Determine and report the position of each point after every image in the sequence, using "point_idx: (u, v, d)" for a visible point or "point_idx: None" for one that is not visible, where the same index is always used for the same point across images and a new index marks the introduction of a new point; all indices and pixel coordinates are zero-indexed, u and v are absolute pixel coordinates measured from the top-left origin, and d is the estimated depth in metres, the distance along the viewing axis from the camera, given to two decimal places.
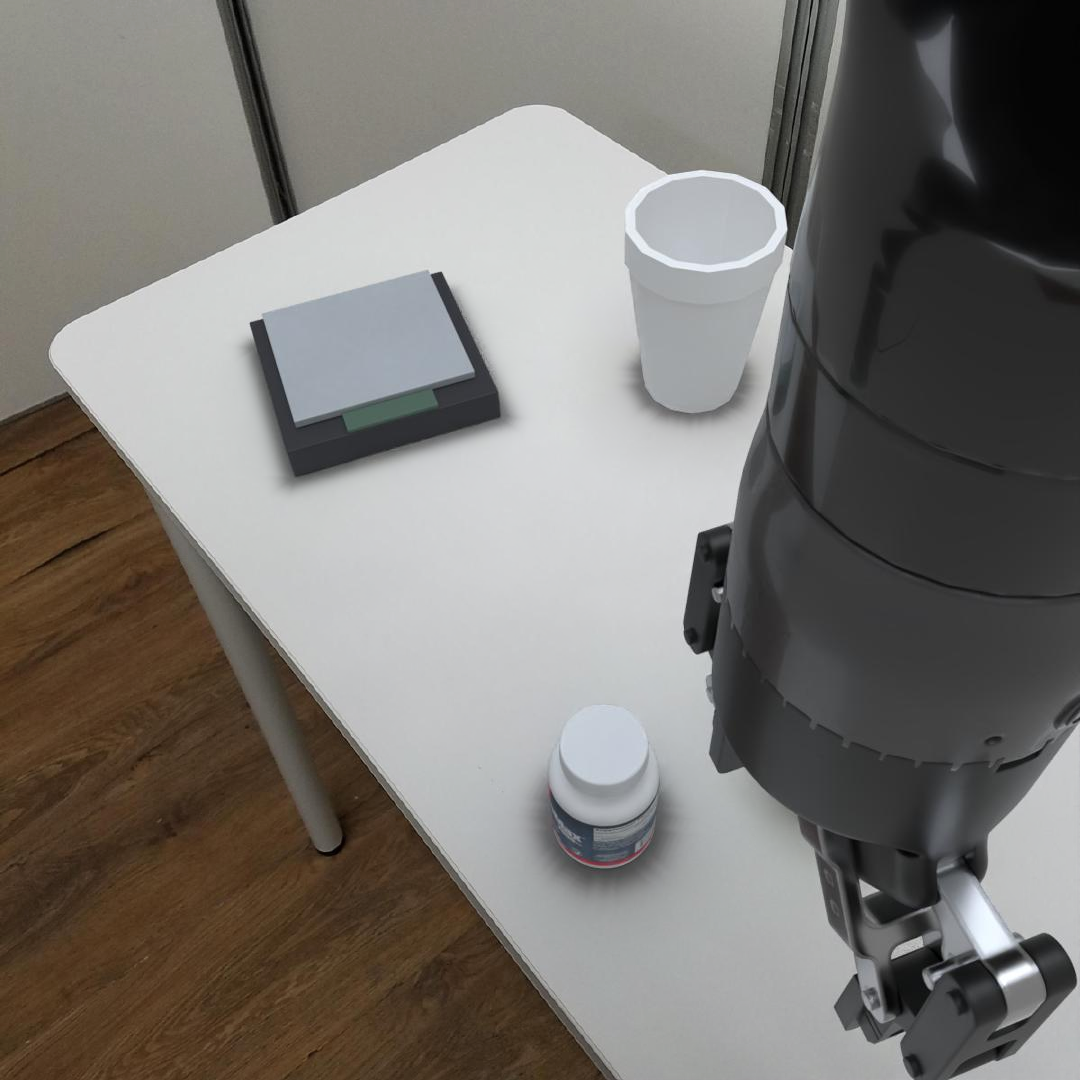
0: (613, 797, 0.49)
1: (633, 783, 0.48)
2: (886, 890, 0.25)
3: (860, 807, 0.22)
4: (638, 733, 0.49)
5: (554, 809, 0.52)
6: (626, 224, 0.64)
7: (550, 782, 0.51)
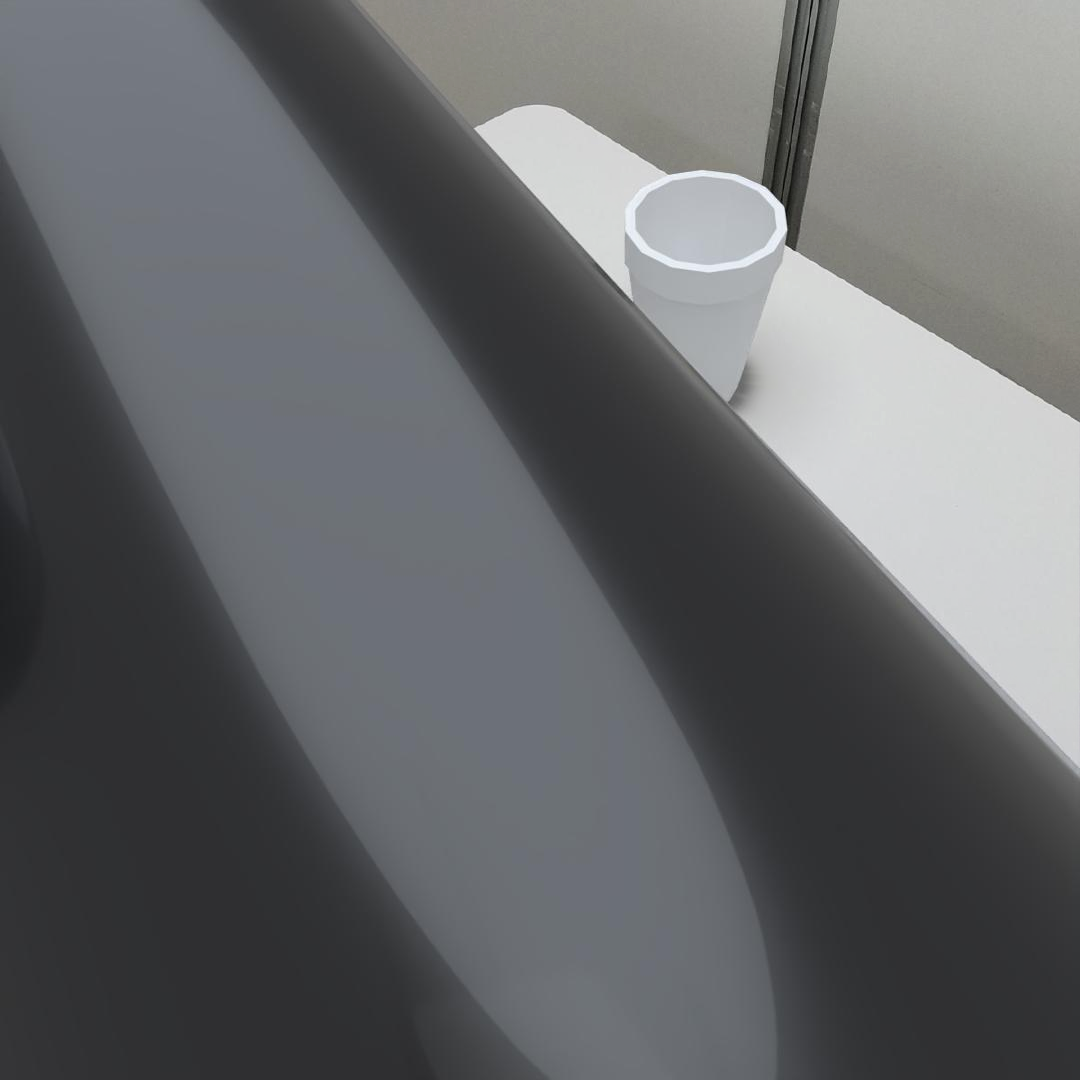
0: None
1: None
2: None
3: None
4: None
5: None
6: (626, 224, 0.64)
7: None
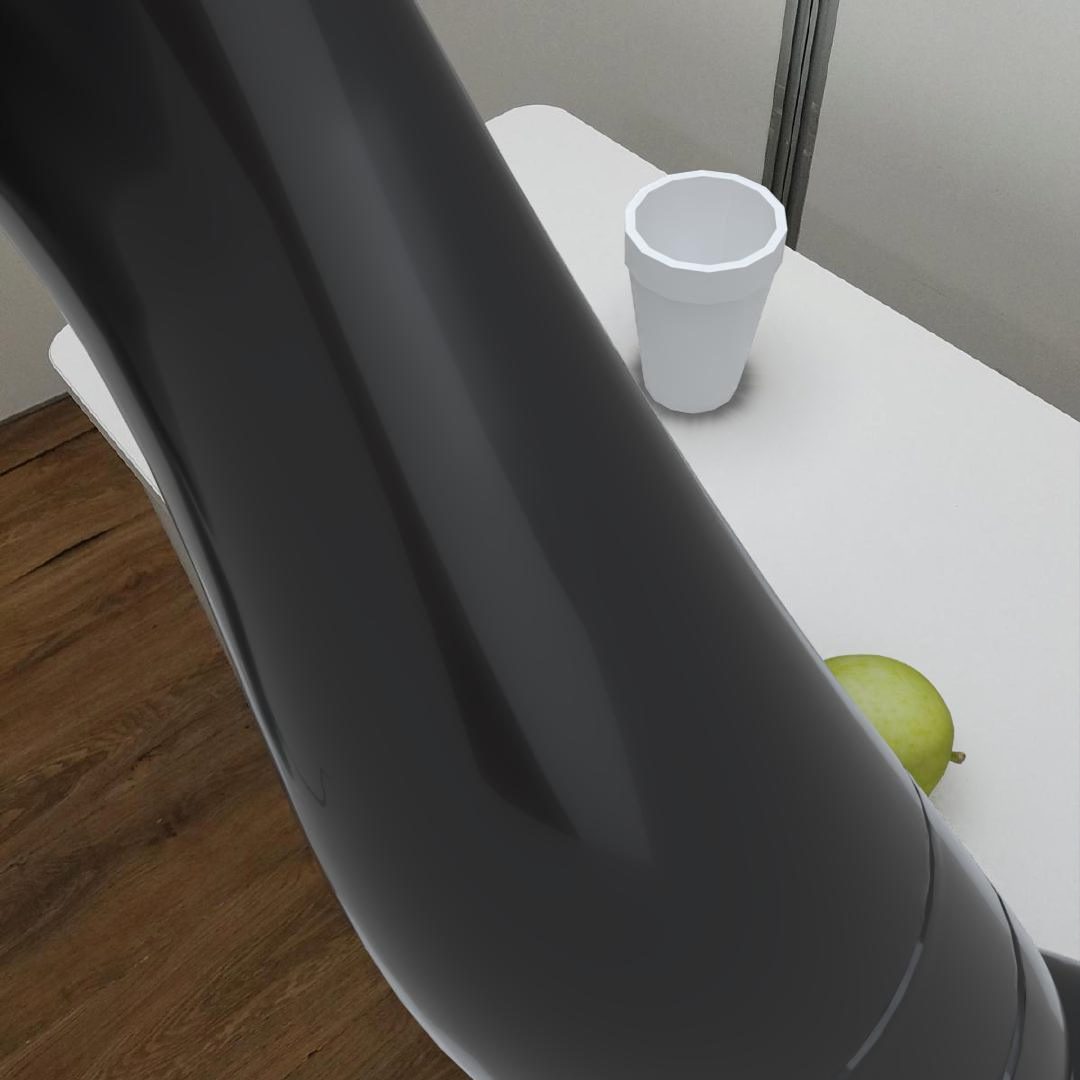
0: None
1: None
2: None
3: None
4: None
5: None
6: (626, 224, 0.64)
7: None
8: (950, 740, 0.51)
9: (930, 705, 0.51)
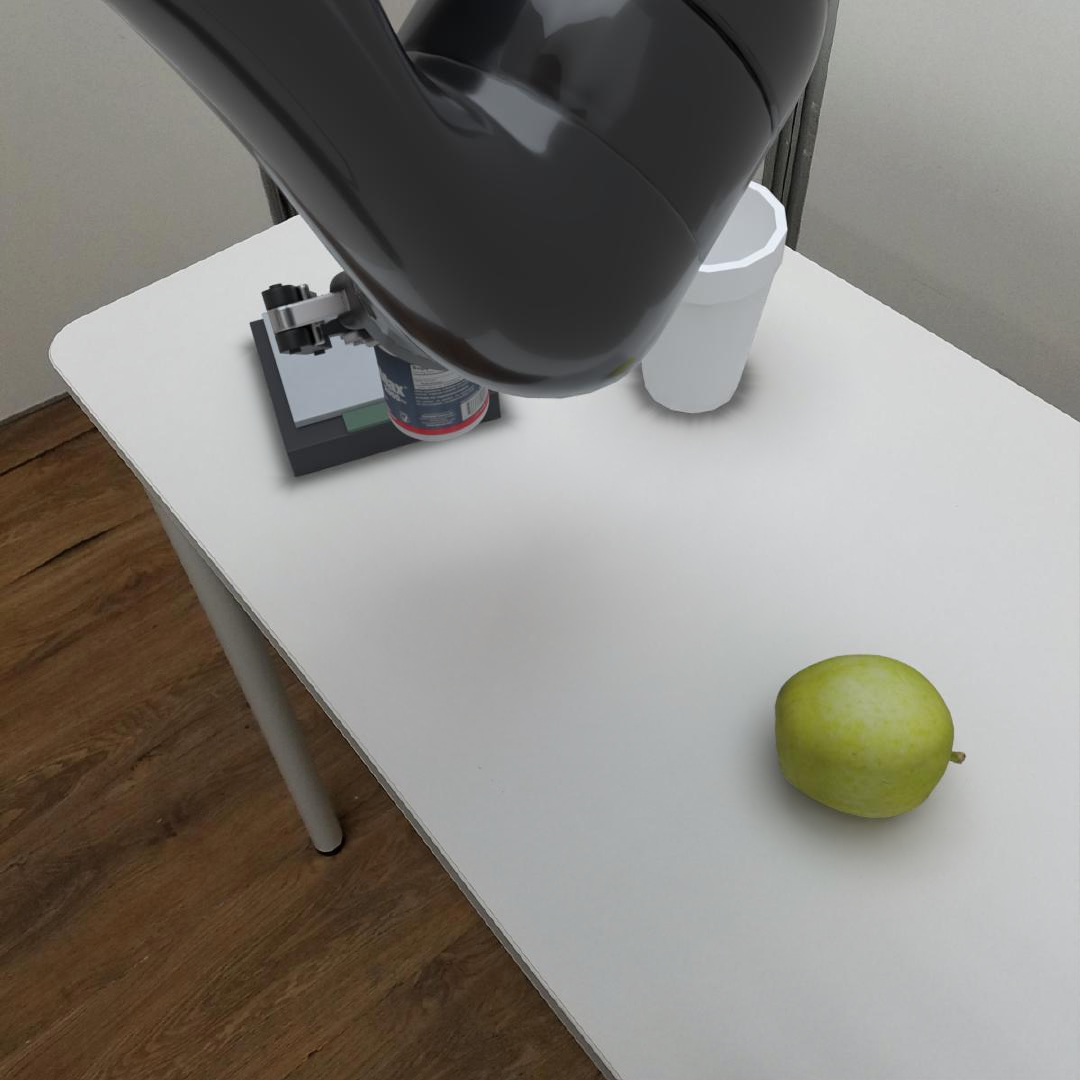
0: None
1: None
2: None
3: None
4: None
5: (378, 363, 0.52)
6: None
7: None
8: (950, 740, 0.51)
9: (930, 705, 0.51)
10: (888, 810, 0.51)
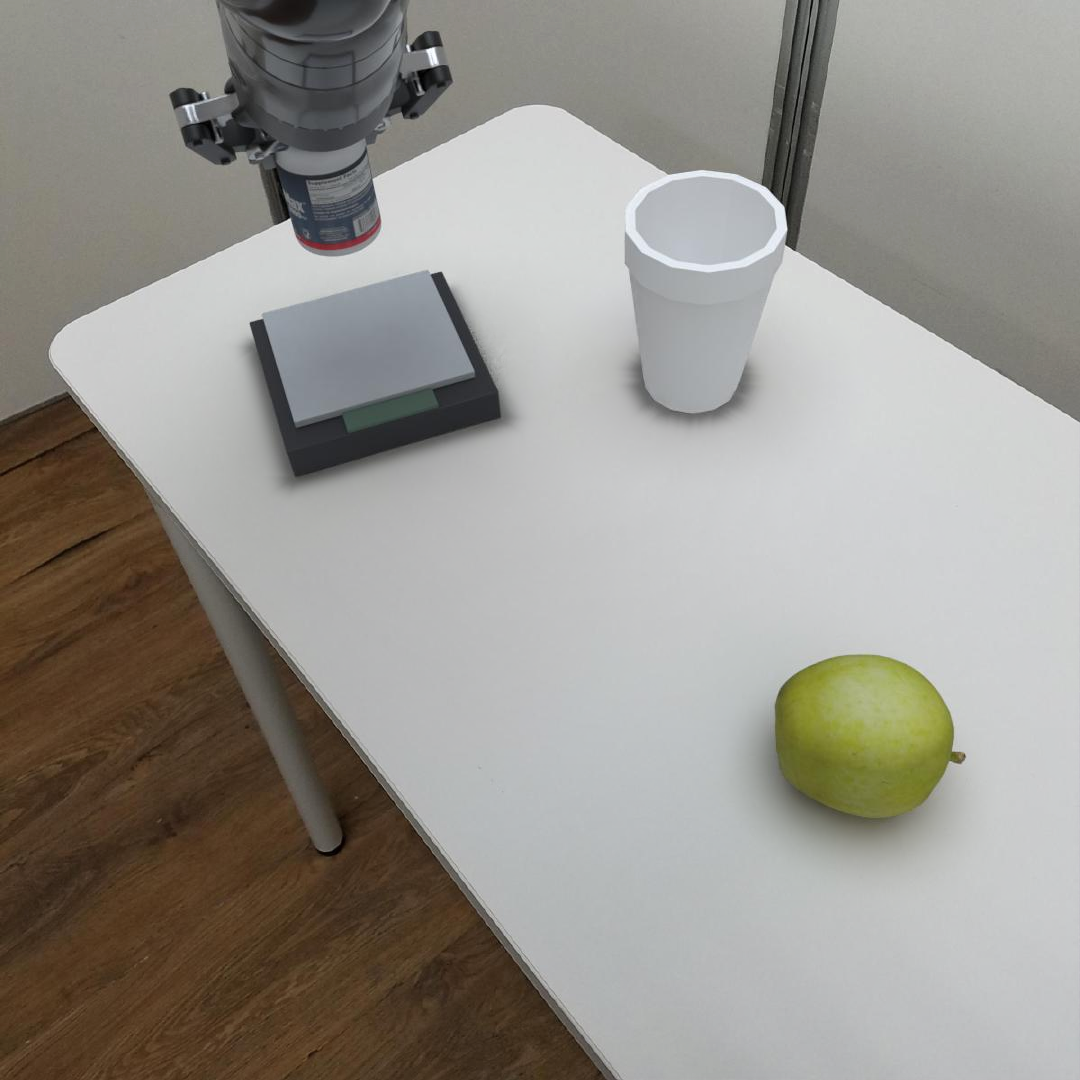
0: None
1: None
2: None
3: None
4: None
5: (282, 185, 0.63)
6: (626, 224, 0.64)
7: None
8: (950, 740, 0.51)
9: (930, 705, 0.51)
10: (888, 810, 0.51)
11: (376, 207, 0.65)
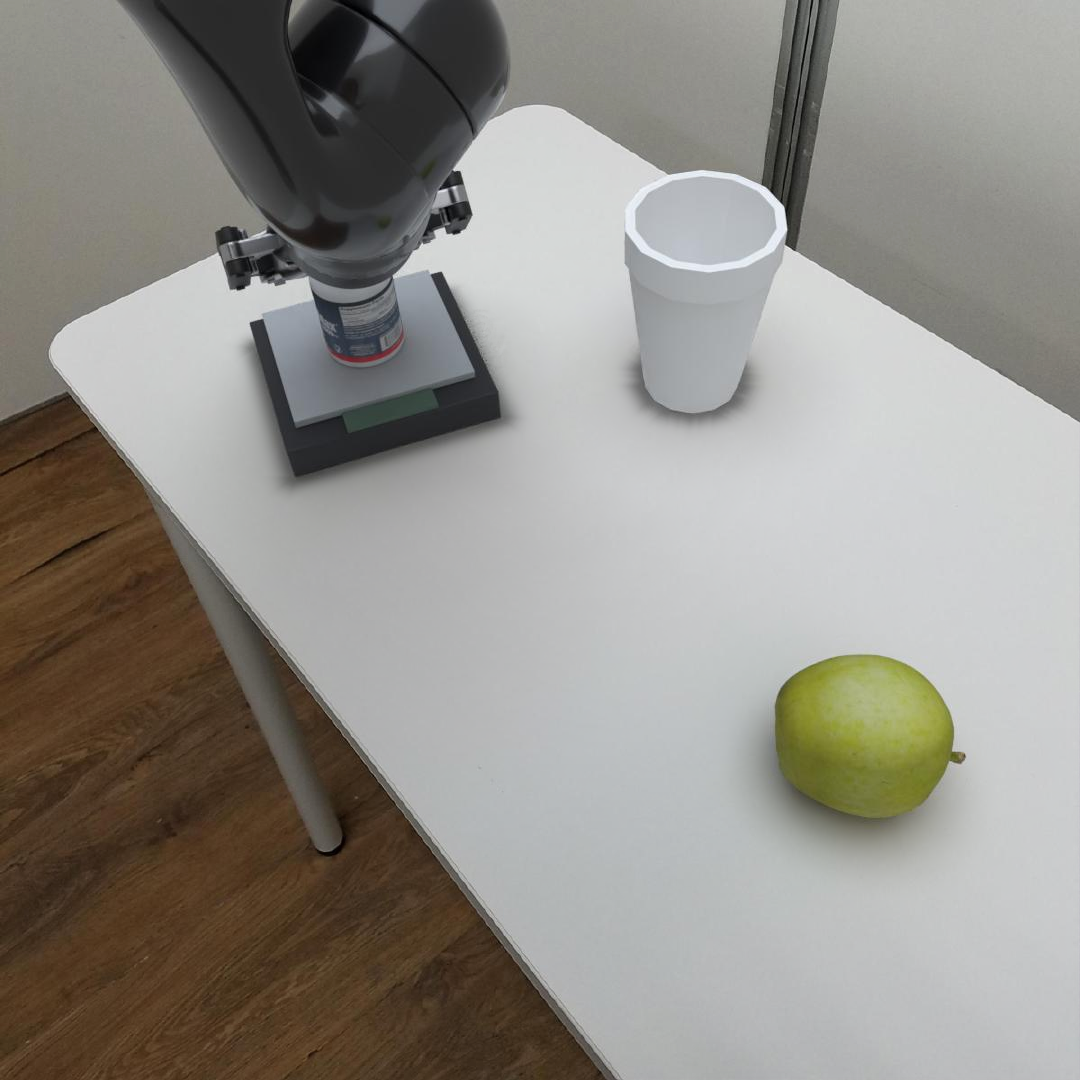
0: None
1: None
2: None
3: None
4: None
5: (316, 307, 0.70)
6: (626, 224, 0.64)
7: (308, 277, 0.68)
8: (950, 740, 0.51)
9: (930, 705, 0.51)
10: (888, 810, 0.51)
11: (400, 323, 0.72)
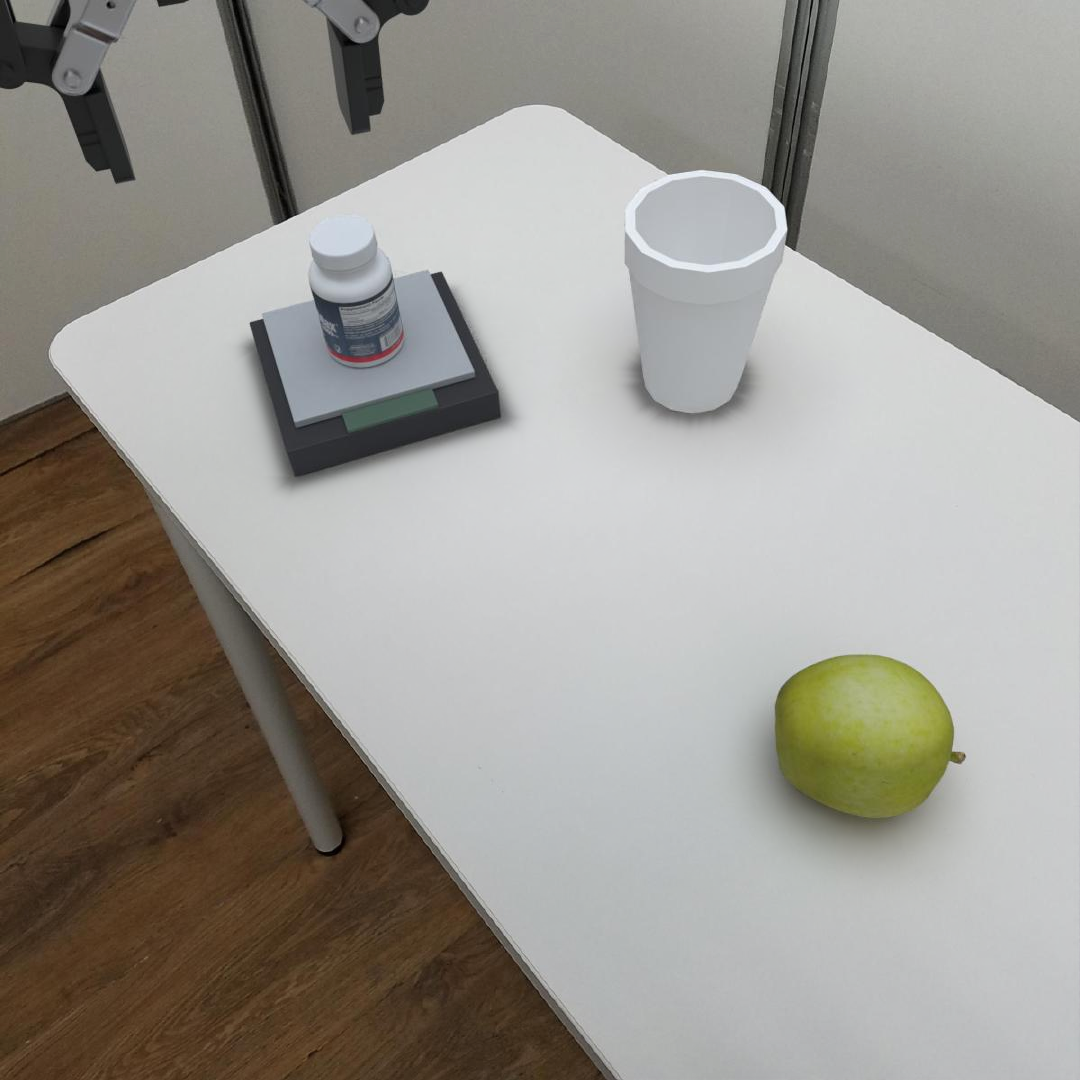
0: (350, 278, 0.67)
1: (361, 261, 0.66)
2: None
3: None
4: (367, 228, 0.67)
5: (316, 307, 0.70)
6: (626, 224, 0.64)
7: (308, 277, 0.68)
8: (950, 740, 0.51)
9: (930, 705, 0.51)
10: (888, 810, 0.51)
11: (400, 323, 0.72)
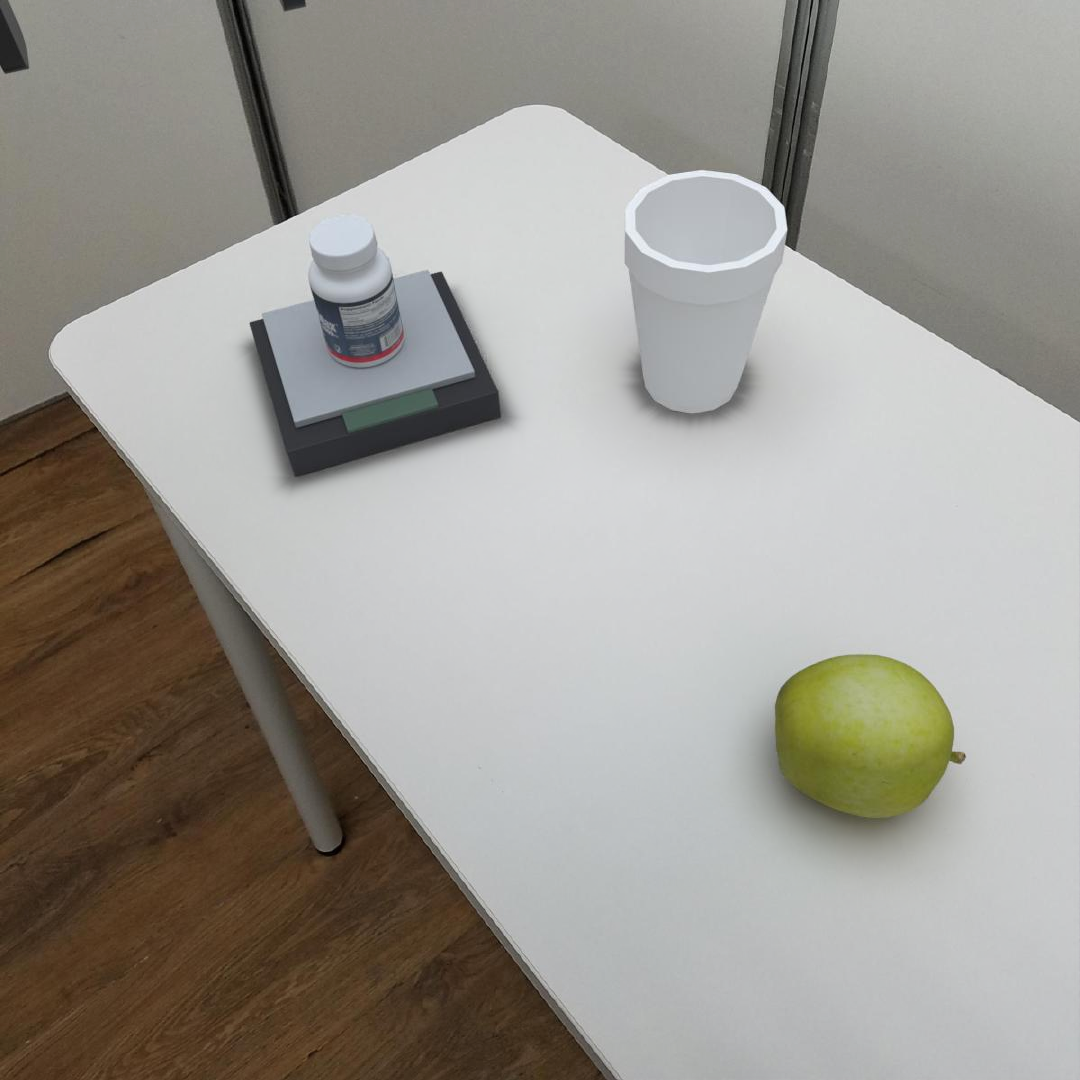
0: (350, 278, 0.67)
1: (361, 261, 0.66)
2: None
3: None
4: (367, 228, 0.67)
5: (316, 307, 0.70)
6: (626, 224, 0.64)
7: (308, 277, 0.68)
8: (950, 740, 0.51)
9: (930, 705, 0.51)
10: (888, 810, 0.51)
11: (400, 323, 0.72)
